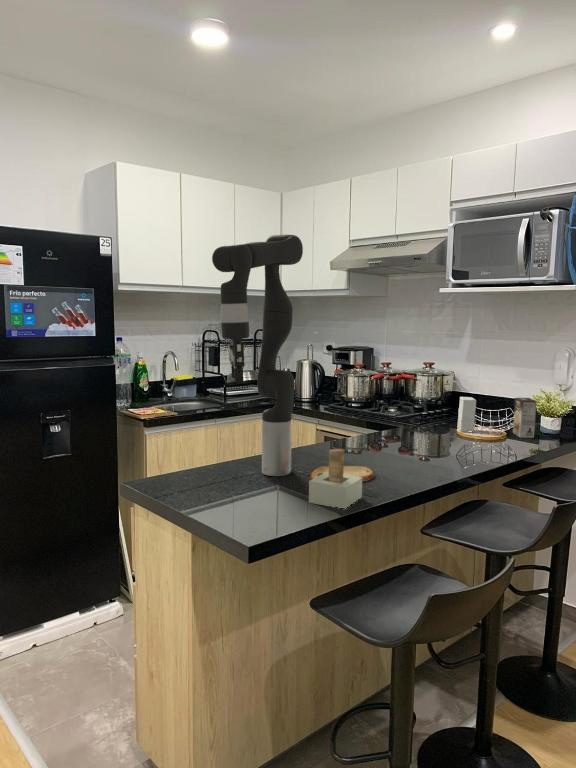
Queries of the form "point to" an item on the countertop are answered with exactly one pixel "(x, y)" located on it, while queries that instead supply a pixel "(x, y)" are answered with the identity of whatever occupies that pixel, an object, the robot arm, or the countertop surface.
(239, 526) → the countertop surface
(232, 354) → the robot arm
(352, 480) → the holder
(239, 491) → the countertop surface
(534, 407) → the coffee box
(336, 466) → the dowel
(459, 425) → the skincare box
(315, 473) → the slice of bread
